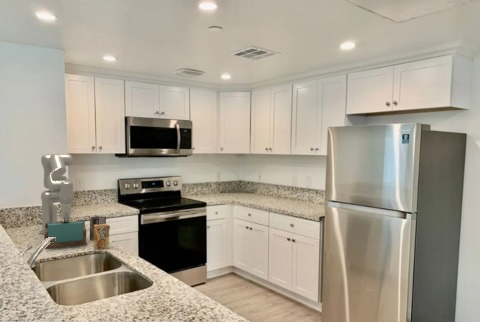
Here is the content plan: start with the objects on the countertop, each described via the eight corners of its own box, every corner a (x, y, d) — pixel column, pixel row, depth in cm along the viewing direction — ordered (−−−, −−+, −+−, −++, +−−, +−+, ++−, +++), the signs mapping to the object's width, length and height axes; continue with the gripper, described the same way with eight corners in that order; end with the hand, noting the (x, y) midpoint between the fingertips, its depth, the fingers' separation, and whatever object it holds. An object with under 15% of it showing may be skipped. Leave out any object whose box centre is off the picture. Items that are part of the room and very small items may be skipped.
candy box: (108, 246, 220) (108, 223, 219) (108, 248, 216) (109, 225, 216) (93, 248, 216) (93, 224, 216) (93, 250, 212) (94, 226, 212)
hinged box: (45, 242, 226) (45, 223, 226) (84, 238, 238) (84, 220, 237) (44, 248, 212) (44, 228, 212) (86, 244, 224) (86, 225, 223)
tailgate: (48, 242, 214) (48, 223, 209) (82, 238, 224) (83, 221, 218) (48, 243, 213) (47, 225, 208) (82, 240, 223) (83, 222, 217)
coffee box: (106, 239, 236) (106, 217, 236) (98, 242, 231) (99, 218, 230) (96, 238, 240) (96, 215, 240) (89, 240, 234) (89, 217, 234)
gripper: (59, 199, 220) (59, 227, 221) (59, 203, 207) (59, 232, 208) (72, 198, 224) (72, 226, 225) (73, 202, 211) (73, 231, 212)
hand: (65, 229), depth 217 cm, fingers closed
